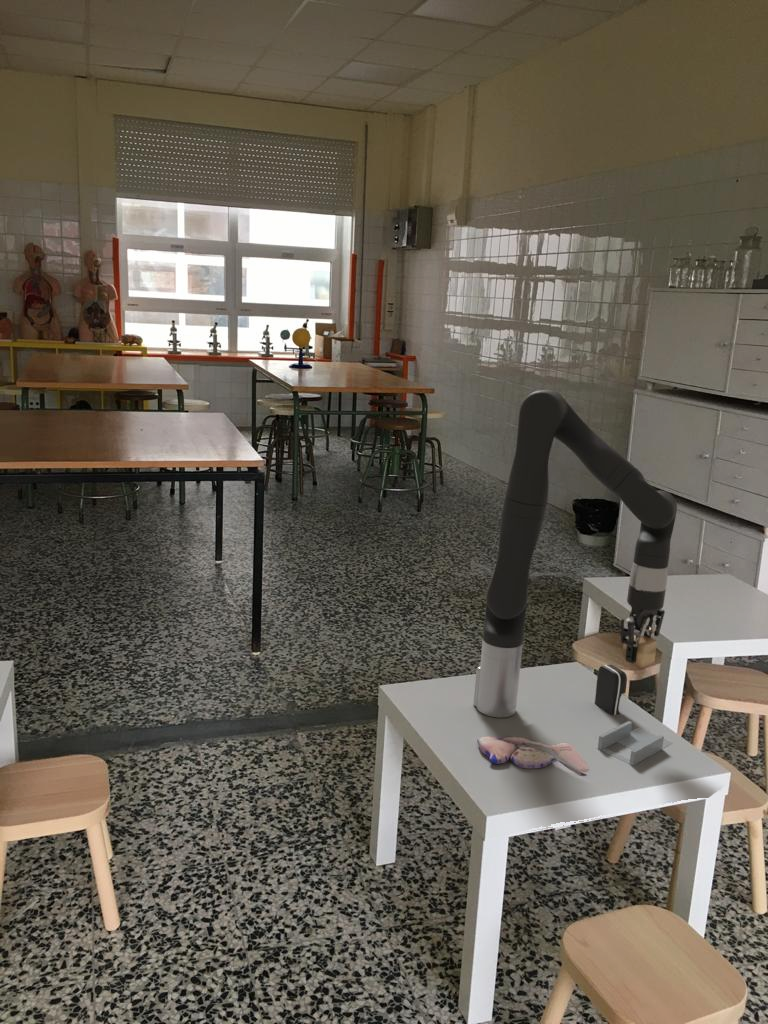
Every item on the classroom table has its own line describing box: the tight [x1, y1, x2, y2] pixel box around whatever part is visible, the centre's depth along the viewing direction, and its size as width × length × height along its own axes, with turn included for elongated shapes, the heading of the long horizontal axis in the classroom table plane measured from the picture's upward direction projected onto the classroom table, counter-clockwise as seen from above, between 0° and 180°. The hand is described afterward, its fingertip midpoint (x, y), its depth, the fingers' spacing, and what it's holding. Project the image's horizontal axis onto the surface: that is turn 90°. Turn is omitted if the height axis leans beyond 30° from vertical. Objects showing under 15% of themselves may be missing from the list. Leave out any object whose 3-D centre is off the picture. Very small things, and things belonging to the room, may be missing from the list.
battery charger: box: [594, 664, 628, 716], centre depth 200 cm, size 7×4×11 cm, turn 25°
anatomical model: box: [477, 736, 591, 776], centre depth 177 cm, size 20×3×15 cm
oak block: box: [621, 635, 658, 668], centre depth 183 cm, size 5×5×5 cm
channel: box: [597, 720, 673, 766], centre depth 183 cm, size 9×16×4 cm, turn 132°
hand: (637, 658), depth 184 cm, fingers closed on oak block, 5 cm apart
